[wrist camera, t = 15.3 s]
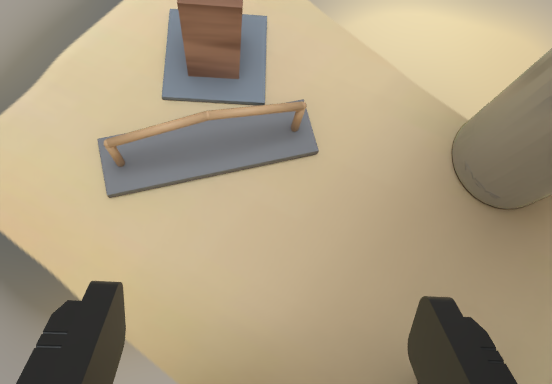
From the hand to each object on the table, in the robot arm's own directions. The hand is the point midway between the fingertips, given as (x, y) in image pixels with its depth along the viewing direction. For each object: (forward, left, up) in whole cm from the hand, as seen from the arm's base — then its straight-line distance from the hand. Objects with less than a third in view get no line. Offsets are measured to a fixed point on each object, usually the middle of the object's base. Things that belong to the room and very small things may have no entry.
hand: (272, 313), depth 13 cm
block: (-13, -20, -26) cm, 35 cm away
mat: (-13, -20, -26) cm, 35 cm away
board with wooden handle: (-7, -13, -27) cm, 30 cm away
